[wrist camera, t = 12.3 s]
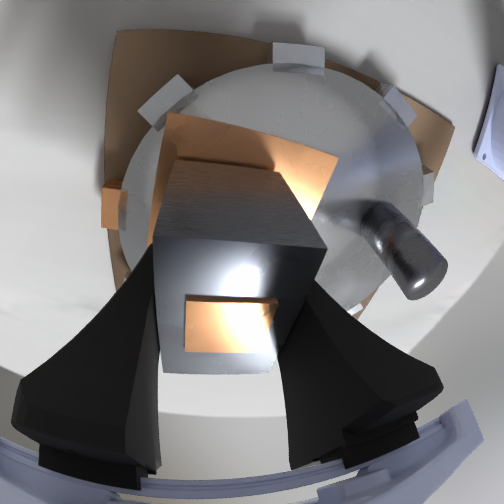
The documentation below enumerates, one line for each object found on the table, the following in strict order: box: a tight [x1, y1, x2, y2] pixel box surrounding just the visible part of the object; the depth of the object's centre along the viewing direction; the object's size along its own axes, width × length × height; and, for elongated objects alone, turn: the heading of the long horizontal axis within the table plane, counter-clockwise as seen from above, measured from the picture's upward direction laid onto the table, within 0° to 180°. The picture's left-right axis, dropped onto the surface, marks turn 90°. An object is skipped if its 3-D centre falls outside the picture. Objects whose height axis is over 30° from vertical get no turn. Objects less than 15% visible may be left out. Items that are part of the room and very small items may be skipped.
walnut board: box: [104, 30, 455, 319], centre depth 14 cm, size 18×17×1 cm
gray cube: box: [153, 160, 328, 374], centre depth 10 cm, size 4×6×5 cm, turn 168°
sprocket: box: [101, 42, 448, 315], centre depth 12 cm, size 18×18×6 cm
